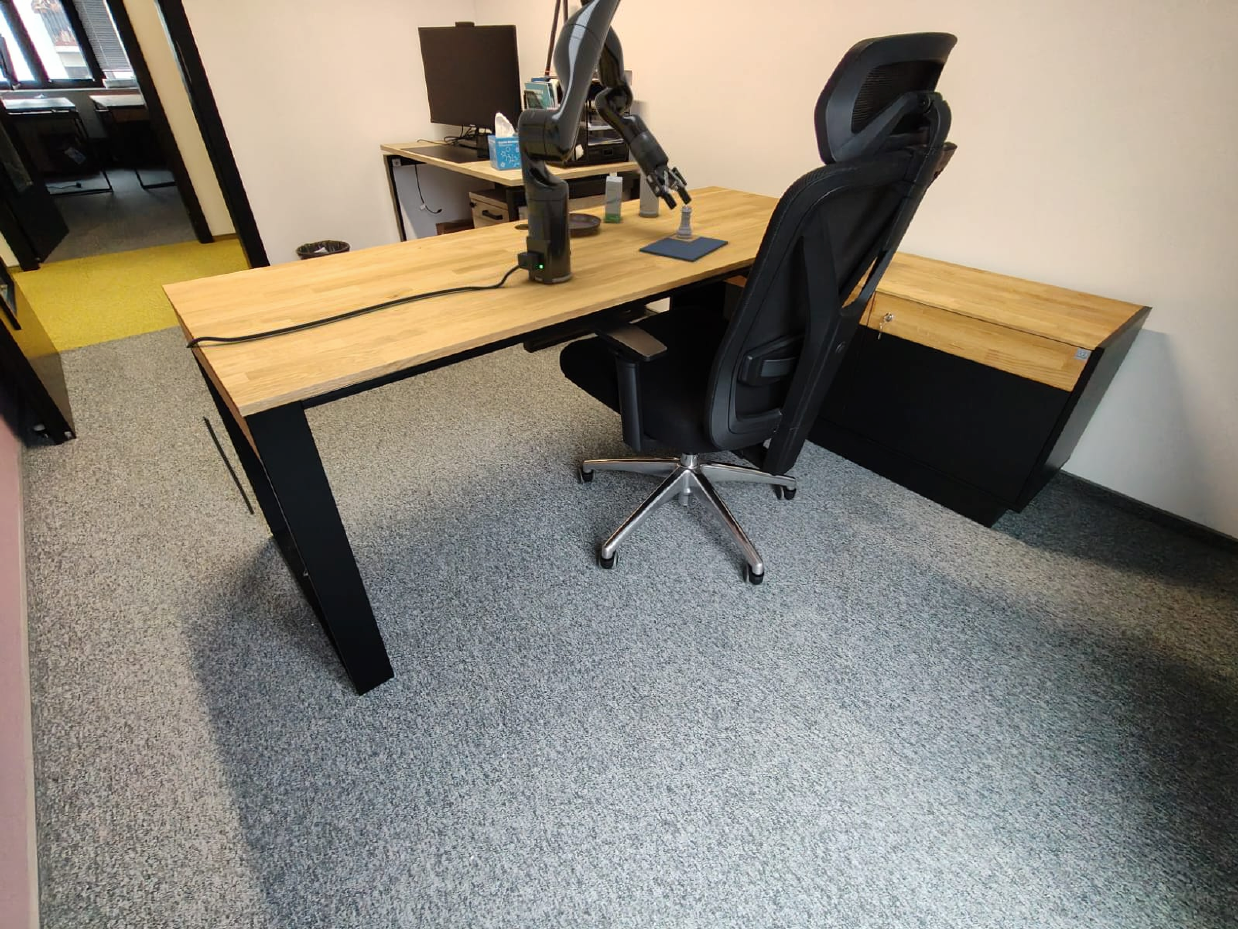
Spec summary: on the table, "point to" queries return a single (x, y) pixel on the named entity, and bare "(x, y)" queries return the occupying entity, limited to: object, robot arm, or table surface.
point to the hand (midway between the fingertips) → (681, 205)
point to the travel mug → (647, 199)
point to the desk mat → (684, 247)
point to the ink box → (613, 199)
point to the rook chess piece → (685, 223)
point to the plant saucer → (583, 224)
